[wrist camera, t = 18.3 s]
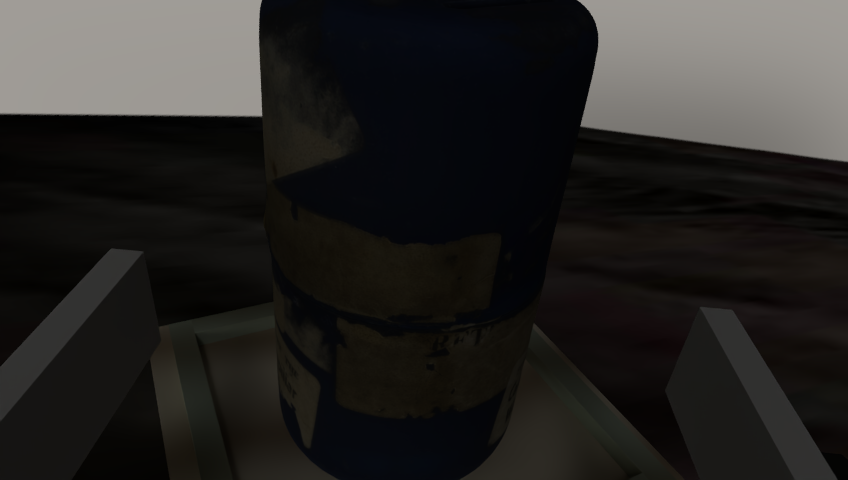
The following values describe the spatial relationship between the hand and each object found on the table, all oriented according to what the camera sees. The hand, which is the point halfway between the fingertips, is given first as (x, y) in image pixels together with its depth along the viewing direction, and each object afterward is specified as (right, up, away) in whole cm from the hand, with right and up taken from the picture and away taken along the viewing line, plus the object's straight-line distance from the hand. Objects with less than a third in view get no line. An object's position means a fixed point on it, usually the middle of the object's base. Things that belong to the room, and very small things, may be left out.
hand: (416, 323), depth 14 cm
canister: (-1, -5, +11) cm, 12 cm away
